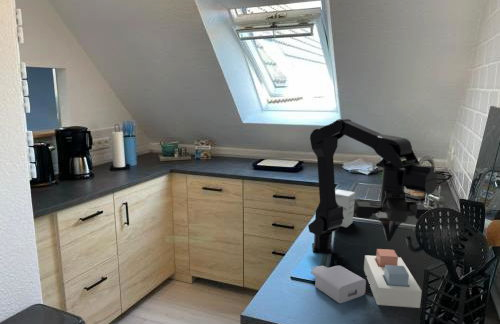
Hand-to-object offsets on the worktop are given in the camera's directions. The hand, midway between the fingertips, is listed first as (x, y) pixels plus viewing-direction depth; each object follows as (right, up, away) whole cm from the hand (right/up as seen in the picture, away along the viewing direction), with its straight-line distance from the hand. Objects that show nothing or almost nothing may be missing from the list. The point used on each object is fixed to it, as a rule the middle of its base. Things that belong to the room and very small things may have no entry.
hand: (388, 240), depth 104 cm
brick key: (0, -8, +2) cm, 8 cm away
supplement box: (-2, -3, +45) cm, 45 cm away
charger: (-16, -12, -2) cm, 20 cm away
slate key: (-1, -10, -8) cm, 13 cm away
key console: (-1, -12, -3) cm, 12 cm away
